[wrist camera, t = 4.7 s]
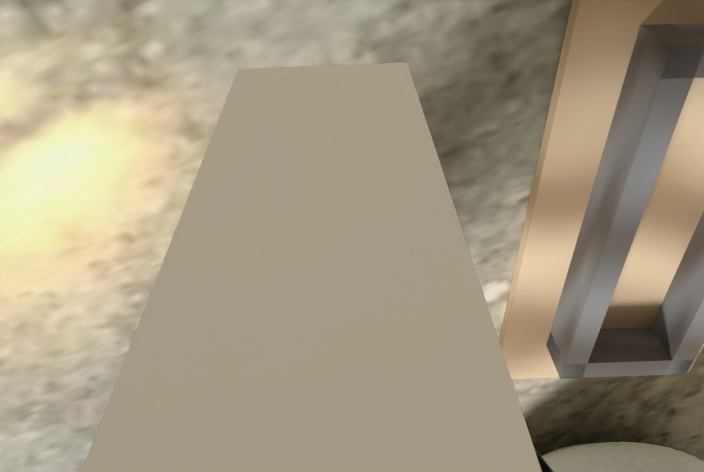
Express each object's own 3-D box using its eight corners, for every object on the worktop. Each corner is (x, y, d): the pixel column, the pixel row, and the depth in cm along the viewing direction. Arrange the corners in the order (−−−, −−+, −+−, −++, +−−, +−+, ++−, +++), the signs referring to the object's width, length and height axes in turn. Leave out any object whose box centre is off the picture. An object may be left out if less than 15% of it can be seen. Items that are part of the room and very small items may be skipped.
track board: (683, 363, 28) (711, 405, 26) (492, 370, 28) (505, 413, 26) (917, -75, 16) (1003, -60, 14) (586, -66, 16) (624, -51, 14)
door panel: (405, 429, 13) (461, 876, 7) (296, 434, 13) (271, 886, 7) (424, 61, 8) (675, 681, 2) (237, 69, 8) (-15, 717, 2)
